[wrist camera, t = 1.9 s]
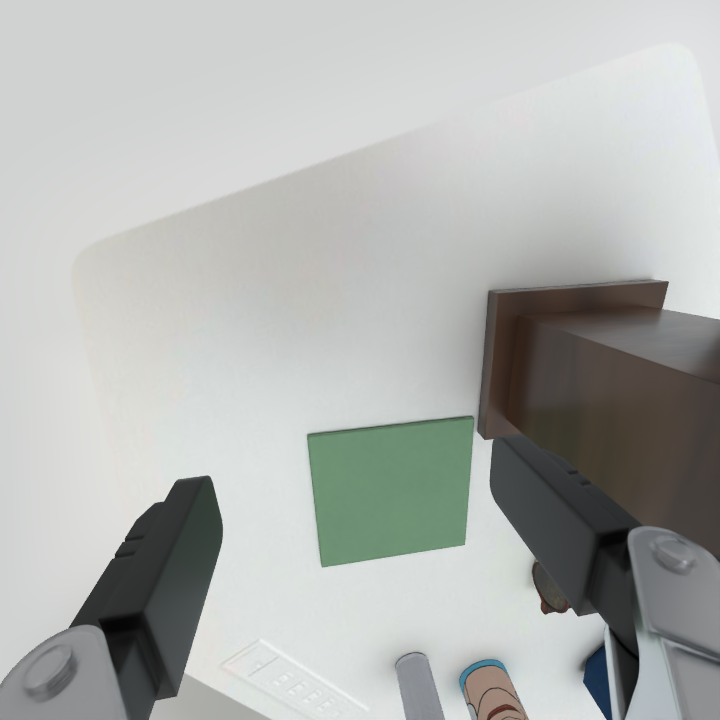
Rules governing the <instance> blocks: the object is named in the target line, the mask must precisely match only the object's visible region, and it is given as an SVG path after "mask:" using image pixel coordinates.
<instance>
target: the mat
mask: <svg viewBox="0 0 720 720" xmlns="http://www.w3.org/2000/svg"><path fill="white" fill-rule="evenodd" d="M473 428H474V418H473V417H472V416H471V417H462V418H453V419H444V420H435V421H426V422H417V423H408V424H399V425H391V426H382V427H373V428H364V429H355V430H346V431H337V432H328V433H319V434H310V435H308V446H309V455H310V464H311V474H312V483H313V492H314V501H315V510H316V519H317V528H318V537H319V546H320V555H321V564H322V567H328V566H335V565H341V564H347V563H354V562H360V561H366V560H373V559H379V558H385V557H391V556H398V555H404V554H410V553H417V552H423V551H429V550H436V549H442V548H448V547H455V546H461V545H465V535H466V522H467V509H468V495H469V482H470V468H471V455H472V442H473Z"/></svg>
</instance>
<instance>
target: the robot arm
mask: <svg viewBox="0 0 720 720" xmlns="http://www.w3.org/2000/svg"><path fill="white" fill-rule="evenodd" d="M490 488H491V492H492V495H493V498H494V500H495V502H496V503H497V505H498V506H499V508H500V509H501V510H502V512H503V513H504V515H505V516H506V517H507V519H508V520H509V522H510V523H511V524H512V526H513V527H514V528H515V530H516V531H517V533H518V534H519V535H520V537H521V538H522V540H523V541H524V542H525V544H526V545H527V546H528V548H529V549H530V551H531V552H532V553H533V555H534V556H535V558H536V559H537V560H538V562H539V563H540V564H541V566H542V567H543V569H544V570H545V571H546V573H547V574H548V576H549V577H550V578H551V580H552V581H553V582H554V584H555V585H556V587H557V588H558V589H559V591H560V592H561V594H562V595H563V596H564V598H565V599H566V600H567V602H568V603H569V605H570V606H571V607H572V609H573V610H574V612H575V613H576V614H577V616H583V615H588V614H593V613H599V614H600V615H601V617H602V618H603V619H604V621H605V622H606V624H605V628H604V639H605V649H606V659H607V669H608V679H609V689H610V699H611V709H612V719H613V720H720V556H719V555H712V554H711V553H710V552H708V551H707V550H706V549H705V548H703V547H702V546H700V545H699V544H697V543H696V542H694V541H692V540H691V539H689V538H687V537H685V536H683V535H681V534H678V533H676V532H673V531H670V530H667V529H664V528H659V527H653V526H643V525H642V524H641V523H640V522H639V521H637V520H636V519H635V518H634V517H633V516H631V515H630V514H629V513H628V512H627V511H625V510H624V509H623V508H622V507H621V506H620V505H618V504H617V503H616V502H615V501H614V500H612V499H611V498H610V497H609V496H608V495H606V494H605V493H604V492H603V491H602V490H601V489H599V488H598V487H597V486H596V485H595V484H591V481H590V480H589V479H587V478H586V477H585V476H584V475H583V474H582V473H579V472H578V470H577V469H576V468H574V467H573V466H572V465H571V464H570V463H568V462H567V461H566V460H565V459H564V458H562V457H560V456H558V455H556V454H554V453H552V452H550V451H548V450H546V449H544V448H543V449H540V448H539V447H538V446H537V445H536V444H534V443H533V442H532V441H531V440H530V439H529V438H528V437H527V436H525V435H524V434H514V435H507V436H500V437H495V438H494V440H493V444H492V457H491V470H490ZM222 537H223V524H222V518H221V514H220V510H219V506H218V502H217V498H216V494H215V490H214V486H213V482H212V480H211V478H210V476H200V477H193V478H186V479H179V480H177V481H176V482H175V483H174V485H173V487H172V489H171V490H170V492H169V494H168V496H167V498H166V499H165V501H164V502H158V503H155V504H154V505H152V506H151V507H150V508H149V509H148V510H147V511H146V512H145V513H144V514H143V515H141V516H140V517H139V518H138V519H137V520H136V522H135V523H134V525H133V527H132V528H131V530H130V531H129V533H128V534H127V536H126V538H125V542H122V544H121V546H120V547H119V549H118V550H117V552H116V554H115V558H114V559H112V560H111V561H110V563H109V565H108V566H107V568H106V569H105V571H104V573H103V574H102V576H101V577H100V579H99V581H98V582H97V584H96V585H95V587H94V589H93V590H92V592H91V593H90V595H89V597H88V598H87V600H86V601H85V603H84V604H83V606H82V608H81V609H80V611H79V612H78V614H77V615H76V617H75V619H74V620H73V622H72V623H71V625H70V626H69V628H68V629H66V630H64V631H62V632H60V633H57V634H56V635H54V636H52V637H50V638H49V639H47V640H45V641H44V642H43V643H41V644H40V645H38V646H37V647H36V648H34V649H33V650H32V651H31V652H29V653H28V654H27V655H26V656H25V657H24V658H23V659H21V660H20V661H19V662H18V663H17V665H16V666H15V667H14V668H13V669H12V670H11V671H10V672H9V674H8V675H7V676H6V677H5V678H4V680H3V681H2V683H1V684H0V720H149V717H150V714H151V711H152V708H153V705H154V702H155V701H156V700H161V699H165V698H171V697H175V696H177V694H178V690H179V687H180V684H181V680H182V677H183V674H184V670H185V667H186V663H187V660H188V657H189V653H190V650H191V646H192V643H193V640H194V636H195V633H196V630H197V626H198V623H199V619H200V616H201V613H202V609H203V606H204V602H205V599H206V596H207V592H208V589H209V585H210V582H211V579H212V575H213V572H214V568H215V565H216V562H217V558H218V555H219V552H220V548H221V544H222Z"/></svg>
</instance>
